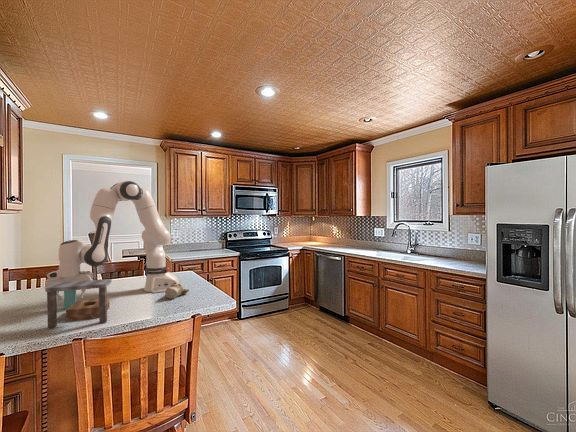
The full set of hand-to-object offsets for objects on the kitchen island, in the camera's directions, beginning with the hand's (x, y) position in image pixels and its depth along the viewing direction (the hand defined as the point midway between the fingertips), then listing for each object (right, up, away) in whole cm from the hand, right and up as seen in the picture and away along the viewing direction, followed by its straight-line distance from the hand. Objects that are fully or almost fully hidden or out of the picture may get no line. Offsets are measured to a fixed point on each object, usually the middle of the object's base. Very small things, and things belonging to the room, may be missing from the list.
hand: (70, 298), depth 149 cm
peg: (0, -5, 0) cm, 5 cm away
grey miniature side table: (+17, -5, -12) cm, 22 cm away
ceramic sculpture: (+46, -5, +20) cm, 51 cm away
